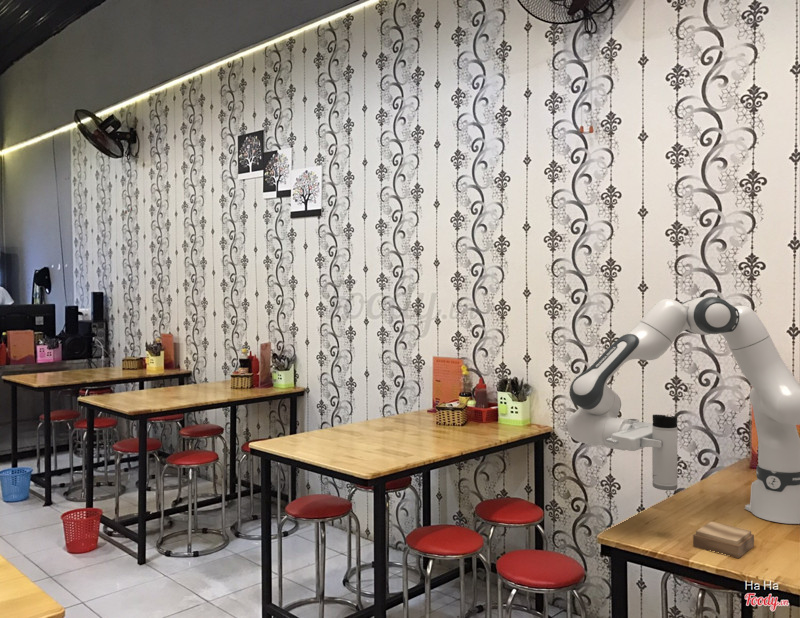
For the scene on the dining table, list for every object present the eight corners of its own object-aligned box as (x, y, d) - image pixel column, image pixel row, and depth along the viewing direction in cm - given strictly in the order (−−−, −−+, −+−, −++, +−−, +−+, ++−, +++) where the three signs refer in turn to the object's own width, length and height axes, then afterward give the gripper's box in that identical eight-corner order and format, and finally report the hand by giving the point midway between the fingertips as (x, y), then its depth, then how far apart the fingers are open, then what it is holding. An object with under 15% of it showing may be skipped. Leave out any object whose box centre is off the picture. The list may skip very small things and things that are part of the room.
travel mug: (648, 487, 176) (647, 414, 175) (658, 482, 180) (658, 410, 180) (671, 492, 171) (671, 417, 171) (681, 486, 176) (681, 413, 175)
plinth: (709, 535, 176) (709, 520, 176) (753, 546, 168) (753, 530, 168) (693, 546, 168) (693, 531, 168) (738, 558, 160) (738, 542, 160)
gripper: (601, 428, 178) (650, 436, 168) (636, 417, 192) (683, 424, 182) (601, 451, 178) (650, 460, 168) (636, 439, 192) (684, 446, 182)
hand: (668, 441), depth 175 cm, fingers closed on travel mug, 6 cm apart
